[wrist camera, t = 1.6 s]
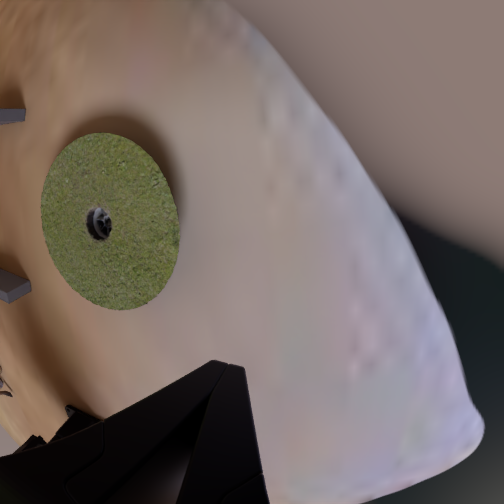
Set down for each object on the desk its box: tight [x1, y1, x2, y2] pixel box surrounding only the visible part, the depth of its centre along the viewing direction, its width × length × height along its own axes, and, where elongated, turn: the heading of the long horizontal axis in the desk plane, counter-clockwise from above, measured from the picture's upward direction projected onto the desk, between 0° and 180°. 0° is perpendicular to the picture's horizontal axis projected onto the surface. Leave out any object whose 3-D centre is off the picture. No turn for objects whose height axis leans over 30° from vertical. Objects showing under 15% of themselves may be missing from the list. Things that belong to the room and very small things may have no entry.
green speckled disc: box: [41, 132, 180, 310], centre depth 18 cm, size 11×11×2 cm
